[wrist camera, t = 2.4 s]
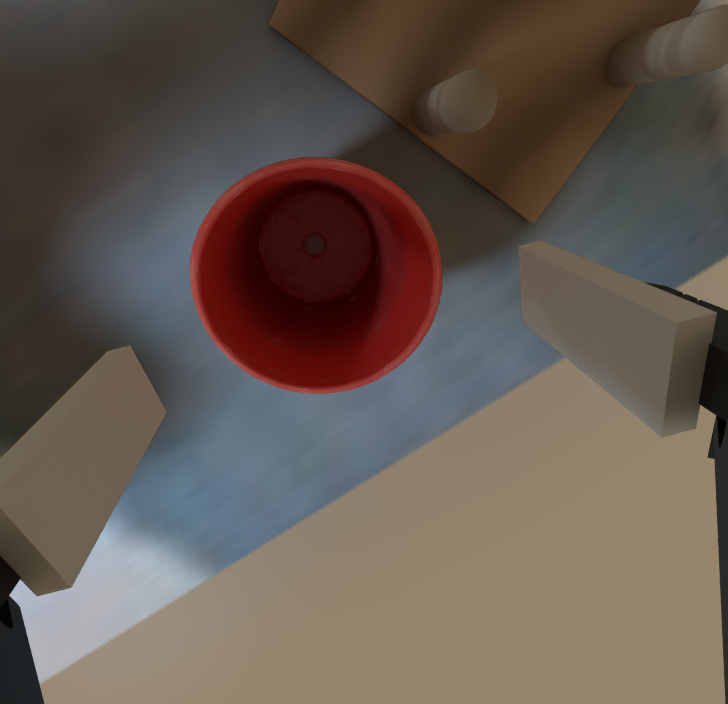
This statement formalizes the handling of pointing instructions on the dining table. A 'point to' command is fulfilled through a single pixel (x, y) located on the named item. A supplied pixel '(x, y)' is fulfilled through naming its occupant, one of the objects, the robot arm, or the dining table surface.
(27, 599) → the dining table surface
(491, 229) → the dining table surface
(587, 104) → the plant stand
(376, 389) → the dining table surface
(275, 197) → the flower pot
